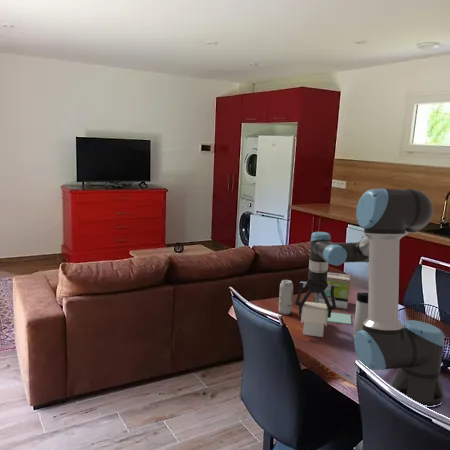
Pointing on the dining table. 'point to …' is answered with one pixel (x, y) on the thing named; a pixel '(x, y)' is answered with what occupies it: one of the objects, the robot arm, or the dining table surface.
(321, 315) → the cover
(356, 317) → the travel mug
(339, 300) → the tea box
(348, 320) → the mat
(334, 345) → the dining table surface
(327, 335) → the dining table surface
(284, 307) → the energy drink can
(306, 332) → the block
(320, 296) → the t key
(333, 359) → the dining table surface
